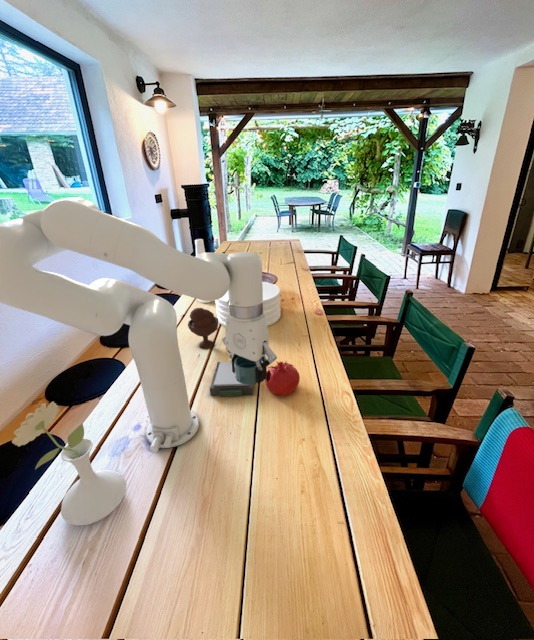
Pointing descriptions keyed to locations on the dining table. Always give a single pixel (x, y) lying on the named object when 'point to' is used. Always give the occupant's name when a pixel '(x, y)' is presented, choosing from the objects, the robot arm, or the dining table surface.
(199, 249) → the alcohol
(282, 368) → the pomegranate
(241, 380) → the teal cup
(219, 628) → the dining table surface
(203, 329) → the ice cream bowl
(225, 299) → the plate stack
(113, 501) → the flower in vase
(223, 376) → the scale
